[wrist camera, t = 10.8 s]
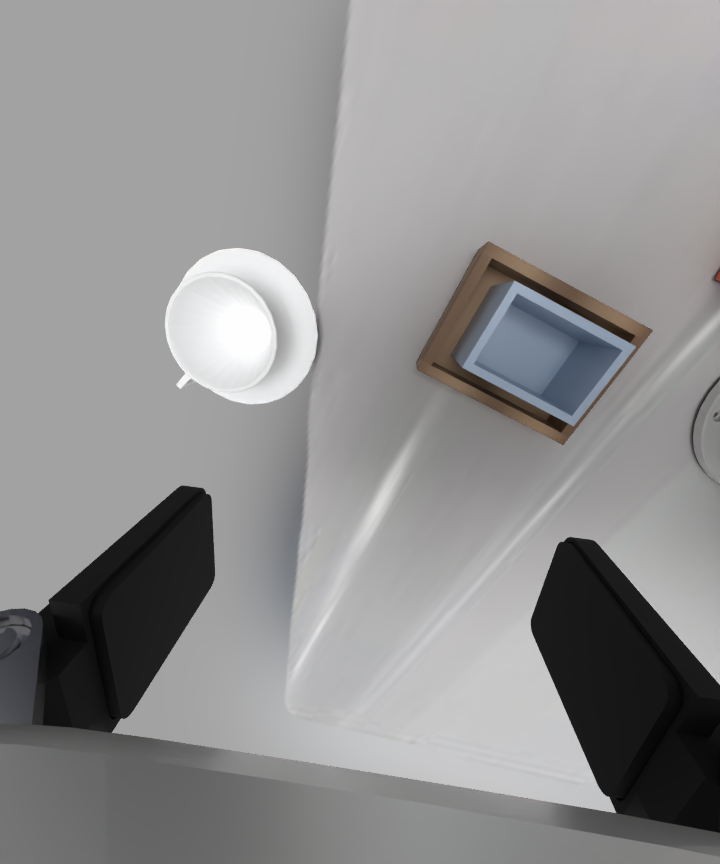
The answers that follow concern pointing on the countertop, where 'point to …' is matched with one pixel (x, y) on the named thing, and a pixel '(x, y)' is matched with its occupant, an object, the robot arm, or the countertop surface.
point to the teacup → (242, 327)
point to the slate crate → (540, 351)
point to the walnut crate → (479, 277)
